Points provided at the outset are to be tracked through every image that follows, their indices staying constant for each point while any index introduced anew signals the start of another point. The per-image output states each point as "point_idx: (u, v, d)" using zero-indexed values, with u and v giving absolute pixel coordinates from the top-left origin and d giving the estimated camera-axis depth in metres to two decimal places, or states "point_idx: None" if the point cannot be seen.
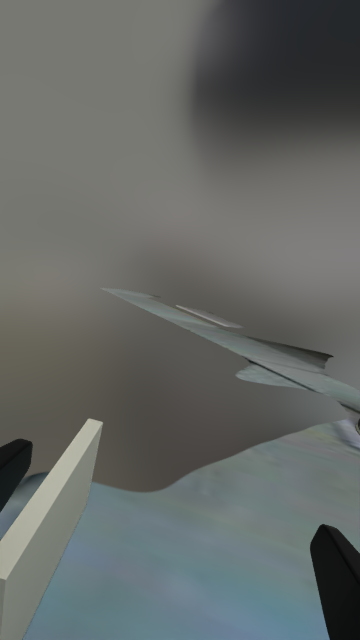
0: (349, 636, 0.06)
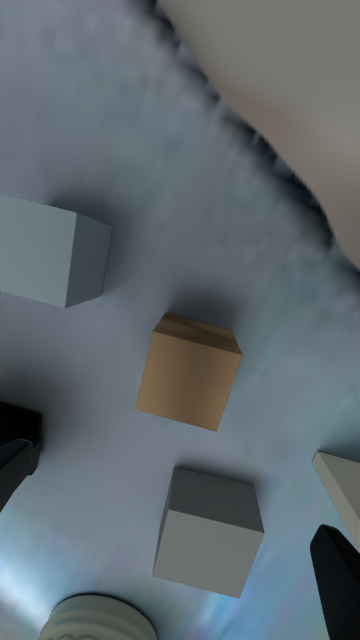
0: (349, 636, 0.06)
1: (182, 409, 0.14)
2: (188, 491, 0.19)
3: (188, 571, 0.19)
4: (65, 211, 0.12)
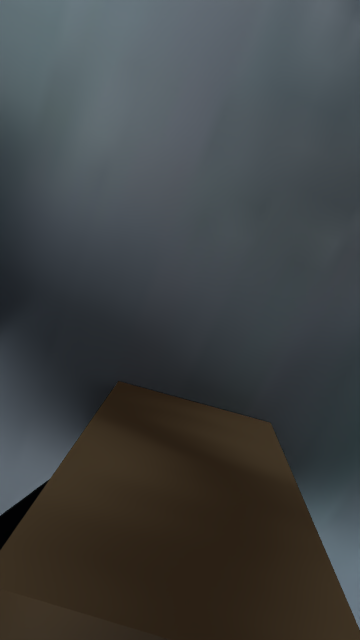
0: None
1: None
2: None
3: None
4: None
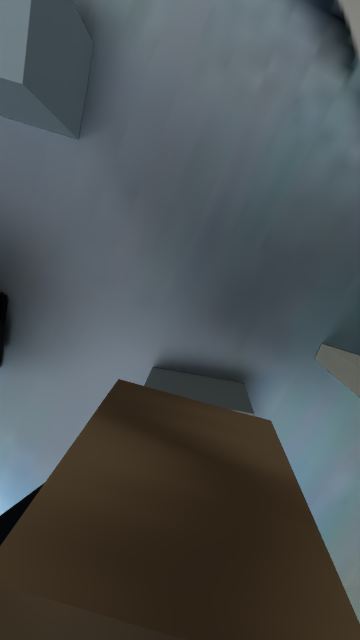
0: None
1: None
2: (166, 382, 0.17)
3: None
4: None
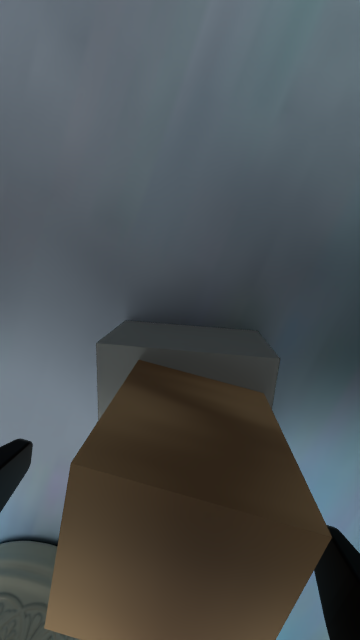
0: (349, 636, 0.06)
1: None
2: (141, 332, 0.11)
3: None
4: None
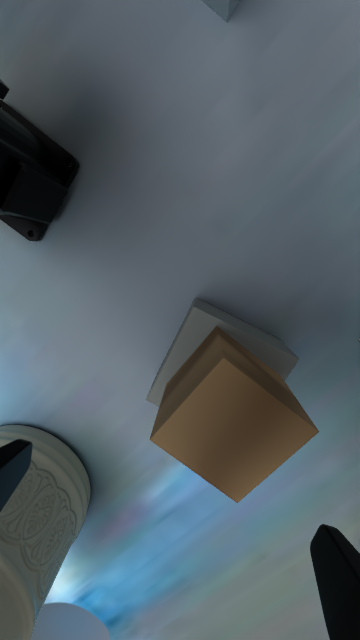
0: (349, 636, 0.06)
1: (209, 463, 0.11)
2: (212, 310, 0.16)
3: None
4: None
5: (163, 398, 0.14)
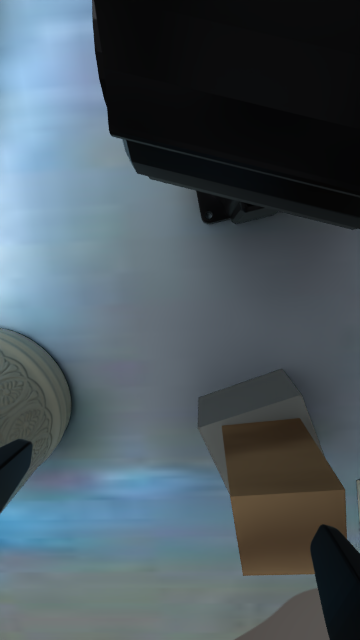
0: (349, 636, 0.06)
1: (254, 540, 0.12)
2: None
3: None
4: None
5: (227, 447, 0.14)
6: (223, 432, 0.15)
